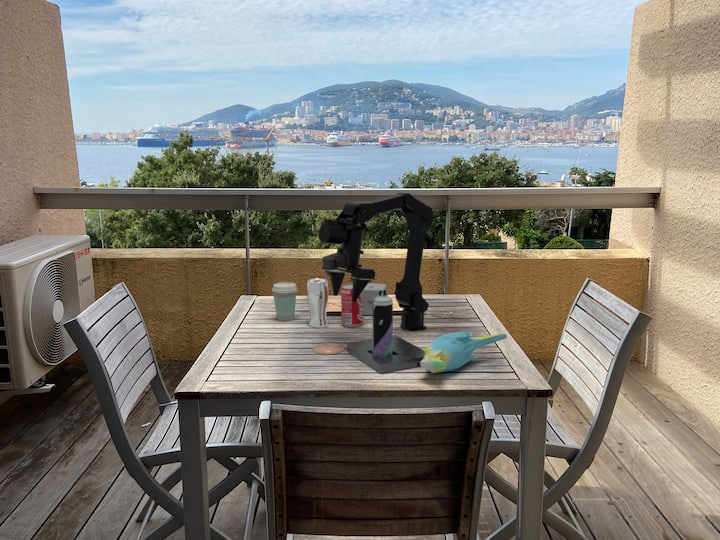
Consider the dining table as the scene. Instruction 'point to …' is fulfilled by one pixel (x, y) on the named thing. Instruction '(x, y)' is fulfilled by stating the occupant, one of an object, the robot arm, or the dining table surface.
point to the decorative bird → (453, 350)
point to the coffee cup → (285, 300)
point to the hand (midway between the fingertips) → (344, 298)
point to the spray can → (382, 325)
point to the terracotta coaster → (328, 348)
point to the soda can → (351, 307)
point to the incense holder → (371, 296)
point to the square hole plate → (401, 356)
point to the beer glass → (317, 301)
